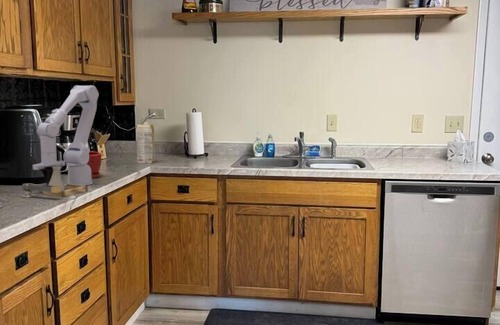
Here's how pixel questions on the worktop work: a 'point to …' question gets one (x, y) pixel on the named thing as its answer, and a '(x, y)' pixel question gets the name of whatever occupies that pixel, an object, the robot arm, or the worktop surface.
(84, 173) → the robot arm
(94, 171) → the plant pot
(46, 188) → the lever
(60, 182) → the flask
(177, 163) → the worktop surface
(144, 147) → the juice carton
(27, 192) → the lever post
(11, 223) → the worktop surface
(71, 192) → the bay
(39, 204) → the worktop surface
